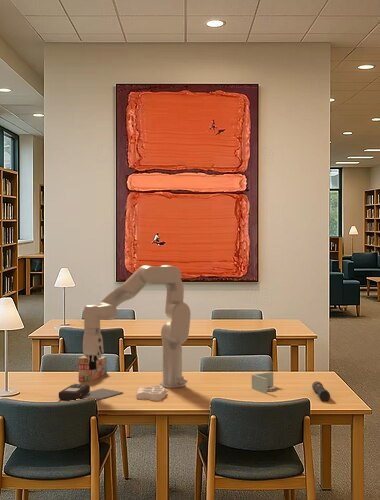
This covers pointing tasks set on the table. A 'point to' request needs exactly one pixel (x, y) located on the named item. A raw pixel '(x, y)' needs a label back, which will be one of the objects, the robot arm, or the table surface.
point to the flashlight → (321, 391)
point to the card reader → (74, 392)
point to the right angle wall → (263, 382)
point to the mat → (101, 394)
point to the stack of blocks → (91, 374)
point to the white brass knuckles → (151, 392)
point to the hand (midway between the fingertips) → (92, 369)
